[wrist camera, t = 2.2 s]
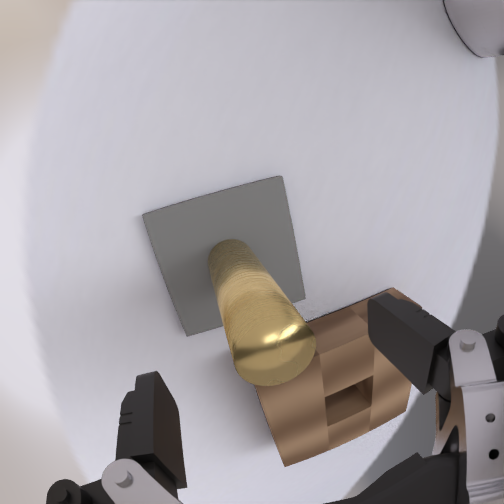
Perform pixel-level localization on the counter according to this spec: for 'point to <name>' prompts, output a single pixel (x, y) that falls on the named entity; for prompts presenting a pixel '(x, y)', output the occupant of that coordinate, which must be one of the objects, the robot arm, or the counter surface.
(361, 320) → the walnut block
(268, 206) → the rubber mat
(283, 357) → the brass pin
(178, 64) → the counter surface
